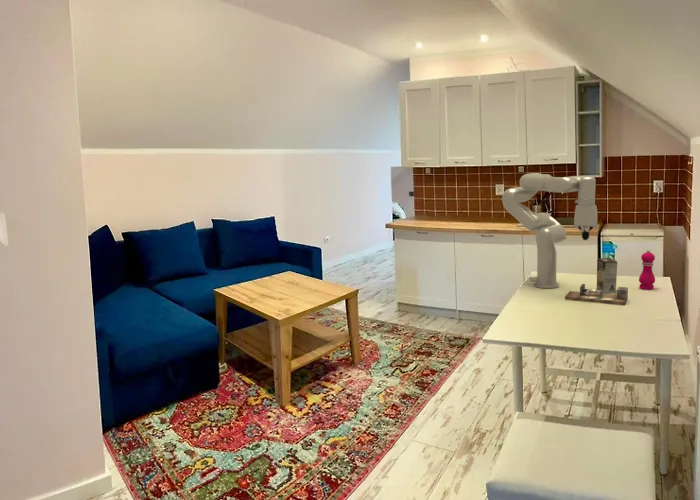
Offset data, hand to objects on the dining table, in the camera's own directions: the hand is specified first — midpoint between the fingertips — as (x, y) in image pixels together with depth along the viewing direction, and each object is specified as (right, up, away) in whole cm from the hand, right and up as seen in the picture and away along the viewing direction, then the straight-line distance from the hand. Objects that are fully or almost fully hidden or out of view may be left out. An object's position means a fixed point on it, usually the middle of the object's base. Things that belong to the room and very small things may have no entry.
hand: (585, 239), depth 268 cm
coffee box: (+13, -26, +7) cm, 30 cm away
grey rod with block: (0, -26, -5) cm, 27 cm away
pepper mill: (+34, -25, +7) cm, 43 cm away
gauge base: (+2, -29, -7) cm, 30 cm away
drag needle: (+2, -27, -12) cm, 30 cm away
